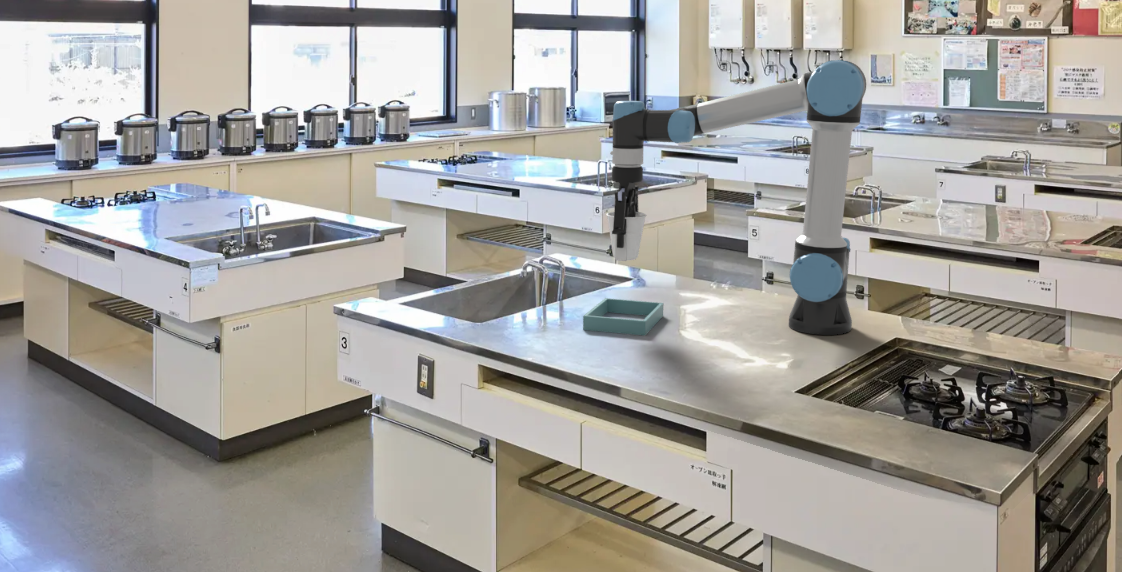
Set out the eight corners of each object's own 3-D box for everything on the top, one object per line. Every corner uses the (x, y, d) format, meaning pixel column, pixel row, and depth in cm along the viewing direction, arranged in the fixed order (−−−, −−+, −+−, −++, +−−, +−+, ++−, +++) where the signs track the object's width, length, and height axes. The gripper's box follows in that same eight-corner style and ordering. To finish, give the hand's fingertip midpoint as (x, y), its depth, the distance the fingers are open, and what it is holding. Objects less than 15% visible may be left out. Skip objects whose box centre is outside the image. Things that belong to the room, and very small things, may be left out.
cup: (642, 263, 241) (644, 218, 238) (602, 261, 242) (603, 216, 240) (647, 255, 250) (648, 211, 248) (608, 253, 252) (609, 210, 249)
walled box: (663, 316, 257) (663, 302, 256) (645, 335, 239) (645, 321, 238) (605, 311, 261) (605, 298, 261) (583, 329, 243) (583, 315, 243)
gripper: (623, 160, 252) (622, 248, 257) (600, 169, 233) (599, 264, 238) (652, 161, 250) (650, 250, 255) (631, 170, 230) (629, 266, 235)
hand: (625, 257), depth 246 cm, fingers closed on cup, 8 cm apart
